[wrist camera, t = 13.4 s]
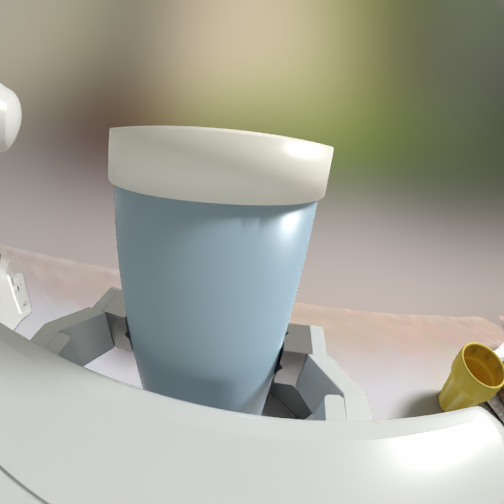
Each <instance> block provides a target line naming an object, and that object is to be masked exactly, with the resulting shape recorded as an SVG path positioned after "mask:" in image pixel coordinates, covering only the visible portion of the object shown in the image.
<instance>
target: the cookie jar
mask: <svg viewBox="0 0 504 504" xmlns="http://www.w3.org/2000/svg"><path fill="white" fill-rule="evenodd" d="M494 352H495V353H496V354H497V355H498V357H499V358H500V359H501V361H502V363H503V365H504V343H502V344H501V345H500V347H498V349H497V350H494ZM487 402H488V404H489V405H490V406H491V408H492V409H493V410H494V411H495V413H496V414H497V415H498V416H499V418H500V419H501V420H502V422H503V423H504V385H503V386H502V387H501V389H500V390H499V391H498V392H497V393H496V394H495V395H494V396H493V397H492V398H491V399H490V400H488V401H487Z"/></svg>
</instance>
